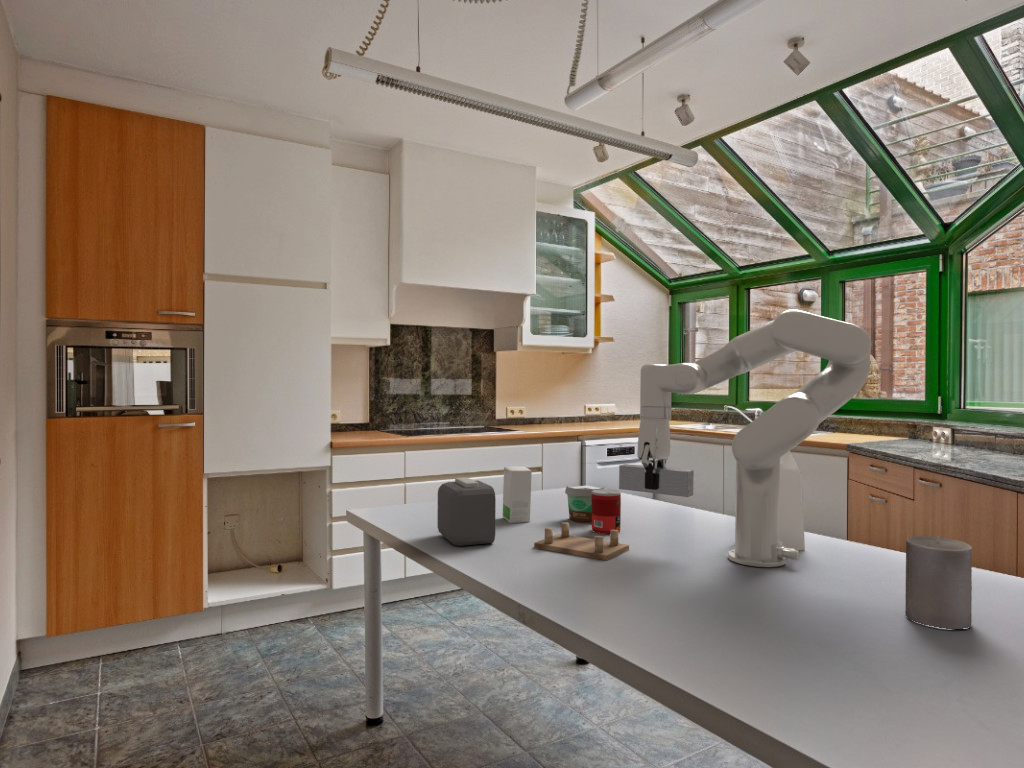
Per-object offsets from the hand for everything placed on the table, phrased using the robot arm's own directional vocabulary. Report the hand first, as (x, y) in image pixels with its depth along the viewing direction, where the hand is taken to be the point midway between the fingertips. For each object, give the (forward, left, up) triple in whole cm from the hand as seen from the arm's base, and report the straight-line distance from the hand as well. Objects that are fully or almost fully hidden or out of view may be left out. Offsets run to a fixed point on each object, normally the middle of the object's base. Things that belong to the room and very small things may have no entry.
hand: (654, 487), depth 161 cm
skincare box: (+47, -7, -15) cm, 50 cm away
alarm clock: (+44, +21, -16) cm, 51 cm away
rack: (+15, +11, -15) cm, 24 cm away
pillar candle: (-59, +17, -15) cm, 64 cm away
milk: (-22, -23, -15) cm, 36 cm away
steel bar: (0, 0, -1) cm, 1 cm away
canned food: (+19, -10, -15) cm, 26 cm away
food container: (+30, -17, -15) cm, 38 cm away
